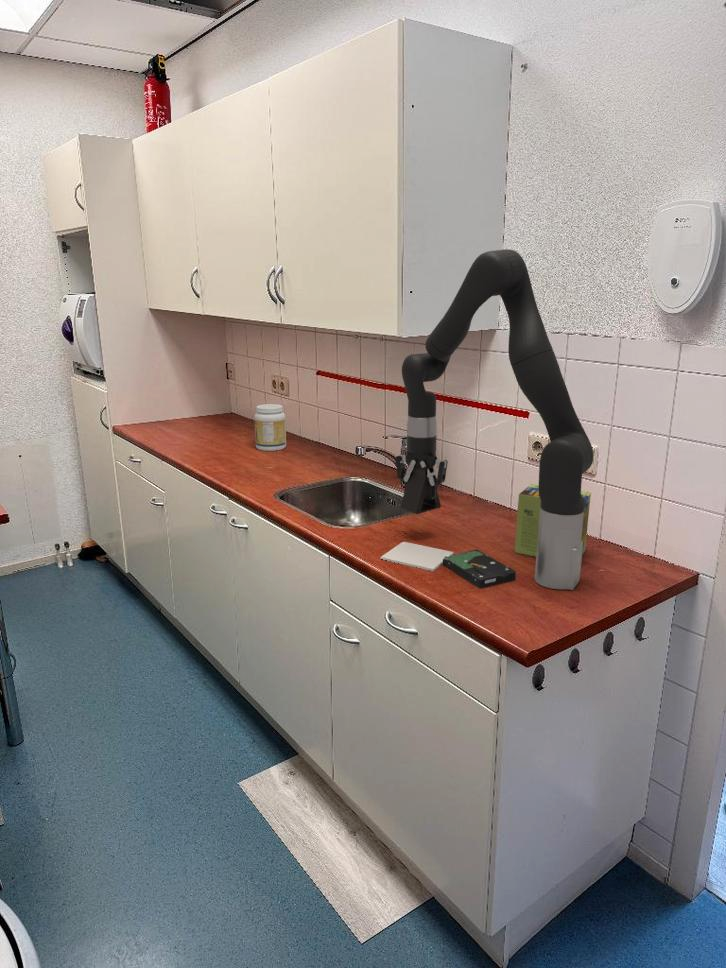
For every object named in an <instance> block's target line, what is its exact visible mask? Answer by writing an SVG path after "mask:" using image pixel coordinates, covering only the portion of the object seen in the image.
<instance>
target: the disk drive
mask: <svg viewBox="0 0 726 968" xmlns="http://www.w3.org/2000/svg"><path fill="white" fill-rule="evenodd" d="M442 566H443V567H444V568H446V569H448V570H450V571H451V572H452V573H454V574H456V575H458V577H460V578H462V579H463V580H465V581H466V582H468V583H470V584H472V585H473V586H474V587H477V588H478V589H483V588H488V587H492V586H496V585H502V584H504V583H508V582H513V581H516V575H517V571H516V570H514V569H513V568H512V567H510V566H507V565H506V564H504V563H502V562H500V561H498V560H496V559H494V558H493V557H491V556H489V555H488V554H486V553H484V552H482V551H481V550H479V549H473V550H468V551H465V552H464V551H463V552H459V554H458V553H457V554H454V555H452V556H449V557H447V556H445V558H444V559H443V564H442Z"/></svg>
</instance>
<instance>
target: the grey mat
mask: <svg viewBox="0 0 726 968" xmlns="http://www.w3.org/2000/svg"><path fill="white" fill-rule="evenodd" d="M453 555H455V552H454V551H450V550H445V549H440V548H436V547H431V546H426V545H421V544H418V543H417V544H416V543H411V542H408V541H402V542H400V543H399V544H398V545H396V546H394V547H393V548H392V549H390V550H389V551H388V552H386V553H384V554H383V555H382V556H380V560H381V559H383V560H382V561H385V560H387V561H386V562H390V561H391V562H390V563H394V562H395V563H394V564H398V563H399V565H403V566H408V567H411V568H416V567H417V569H420V568H421V569H422V570H425V571H429V570H430V571H429V572H435V570H437V569H438V568H439V567H440V566H443V559H444V558H445V556H447V557H449V556H453Z"/></svg>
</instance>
